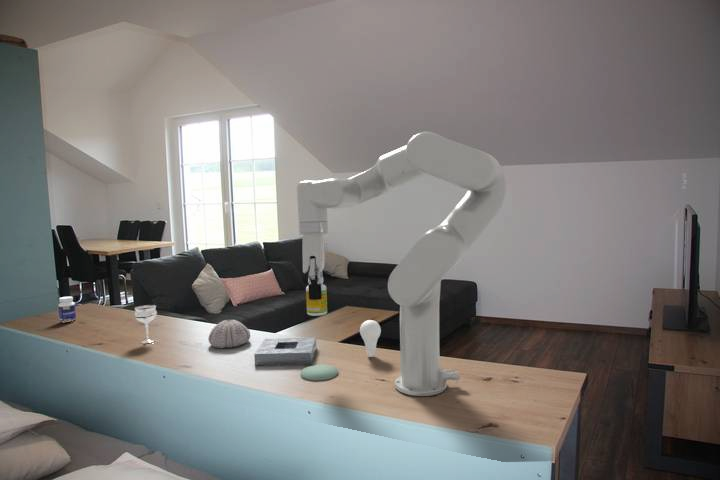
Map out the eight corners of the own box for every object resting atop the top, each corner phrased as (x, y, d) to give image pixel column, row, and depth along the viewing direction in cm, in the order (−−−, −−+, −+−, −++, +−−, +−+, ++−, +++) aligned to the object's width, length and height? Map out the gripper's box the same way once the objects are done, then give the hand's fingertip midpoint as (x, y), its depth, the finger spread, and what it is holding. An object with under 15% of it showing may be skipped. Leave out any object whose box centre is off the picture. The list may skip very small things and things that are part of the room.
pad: (339, 366, 134) (338, 364, 134) (336, 380, 124) (336, 378, 124) (303, 367, 134) (303, 365, 134) (298, 381, 124) (298, 379, 124)
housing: (316, 348, 150) (315, 337, 150) (311, 364, 136) (310, 352, 136) (265, 349, 150) (264, 338, 150) (254, 365, 136) (254, 353, 136)
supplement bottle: (324, 316, 124) (322, 279, 123) (304, 315, 125) (302, 279, 124) (329, 311, 130) (328, 275, 129) (310, 310, 131) (309, 275, 130)
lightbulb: (385, 355, 142) (384, 318, 141) (375, 361, 137) (374, 324, 136) (367, 352, 145) (366, 316, 144) (356, 358, 140) (355, 321, 139)
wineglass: (159, 343, 160) (156, 308, 159) (137, 346, 158) (134, 310, 156) (158, 338, 167) (155, 304, 165) (136, 341, 164) (134, 306, 162)
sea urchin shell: (199, 348, 154) (198, 323, 153) (228, 336, 166) (226, 313, 166) (232, 353, 149) (231, 327, 148) (259, 340, 161) (258, 316, 160)
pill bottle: (64, 324, 189) (62, 299, 188) (56, 322, 192) (54, 298, 191) (79, 320, 194) (77, 296, 193) (71, 319, 197) (69, 295, 196)
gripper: (303, 226, 134) (306, 290, 136) (294, 231, 117) (297, 304, 119) (330, 225, 134) (333, 289, 136) (324, 230, 117) (328, 303, 118)
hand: (316, 296), depth 127 cm, fingers closed on supplement bottle, 5 cm apart
